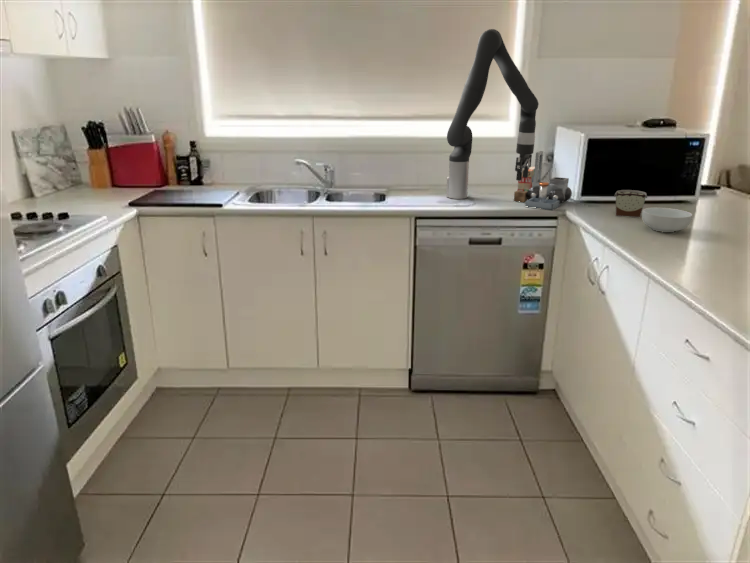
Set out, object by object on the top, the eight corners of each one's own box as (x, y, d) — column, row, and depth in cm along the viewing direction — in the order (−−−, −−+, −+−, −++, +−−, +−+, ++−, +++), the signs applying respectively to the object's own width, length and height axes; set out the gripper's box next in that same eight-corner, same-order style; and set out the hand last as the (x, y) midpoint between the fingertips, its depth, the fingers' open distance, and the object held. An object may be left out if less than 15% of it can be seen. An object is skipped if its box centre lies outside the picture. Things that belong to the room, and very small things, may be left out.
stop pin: (535, 205, 255) (537, 182, 252) (539, 203, 258) (541, 181, 255) (544, 206, 253) (546, 183, 250) (547, 205, 256) (550, 182, 253)
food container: (643, 214, 240) (646, 190, 237) (644, 217, 235) (647, 193, 231) (611, 212, 244) (614, 189, 241) (611, 215, 239) (614, 191, 235)
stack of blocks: (525, 187, 299) (527, 163, 295) (537, 188, 297) (539, 164, 293) (516, 195, 281) (518, 169, 277) (530, 196, 279) (532, 170, 274)
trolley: (525, 202, 265) (529, 153, 257) (534, 197, 274) (538, 150, 267) (562, 206, 255) (567, 155, 248) (571, 201, 265) (576, 152, 257)
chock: (513, 201, 267) (514, 191, 266) (517, 200, 270) (517, 190, 269) (524, 202, 264) (524, 193, 263) (527, 201, 268) (528, 191, 266)
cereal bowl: (686, 238, 205) (690, 219, 203) (636, 232, 214) (639, 213, 211) (691, 228, 219) (694, 209, 217) (643, 222, 227) (646, 205, 225)
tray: (525, 207, 256) (525, 201, 255) (532, 203, 263) (533, 197, 262) (552, 210, 249) (552, 204, 248) (559, 206, 256) (559, 200, 255)
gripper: (528, 145, 250) (524, 182, 256) (539, 141, 262) (535, 177, 267) (511, 143, 254) (508, 180, 260) (522, 140, 265) (519, 175, 271)
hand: (522, 178), depth 264 cm, fingers open, 8 cm apart
